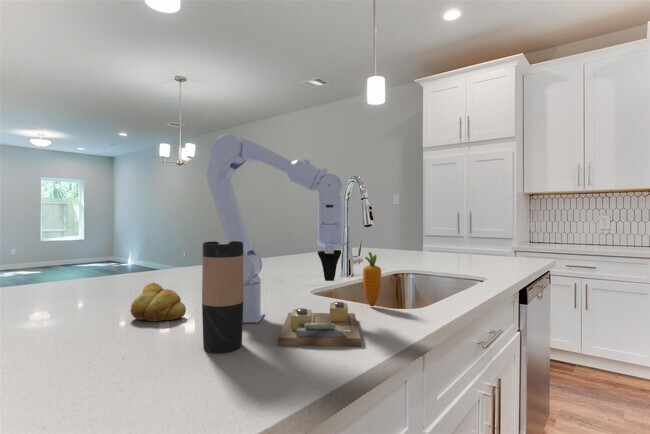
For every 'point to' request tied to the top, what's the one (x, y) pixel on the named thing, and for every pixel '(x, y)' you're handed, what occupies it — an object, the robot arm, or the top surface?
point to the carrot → (372, 280)
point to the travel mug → (222, 296)
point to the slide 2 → (338, 312)
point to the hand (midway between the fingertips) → (329, 280)
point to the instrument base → (321, 332)
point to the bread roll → (157, 304)
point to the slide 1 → (300, 318)
